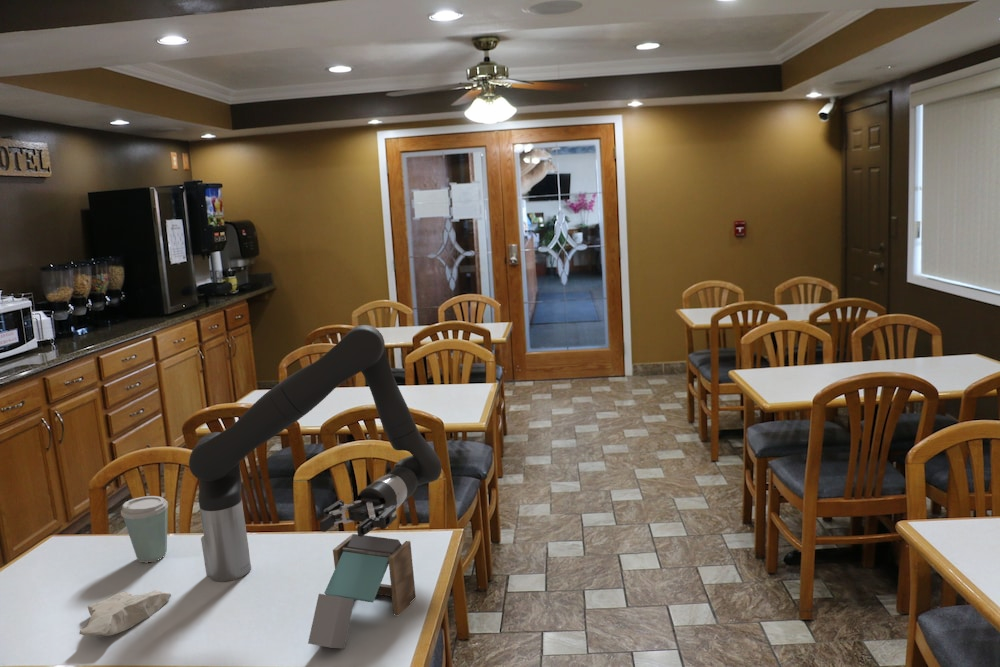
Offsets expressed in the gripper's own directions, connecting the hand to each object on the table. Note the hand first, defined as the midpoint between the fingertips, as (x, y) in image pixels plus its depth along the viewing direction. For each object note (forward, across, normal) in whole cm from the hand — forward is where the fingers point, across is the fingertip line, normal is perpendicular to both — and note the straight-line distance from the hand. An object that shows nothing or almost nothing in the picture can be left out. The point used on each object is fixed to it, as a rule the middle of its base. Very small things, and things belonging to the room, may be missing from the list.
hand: (340, 529), depth 154 cm
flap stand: (-10, 0, +21) cm, 23 cm away
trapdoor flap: (-9, 0, +15) cm, 18 cm away
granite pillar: (+4, 0, +12) cm, 13 cm away
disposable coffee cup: (-13, -66, +21) cm, 71 cm away
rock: (+11, -51, +22) cm, 56 cm away
